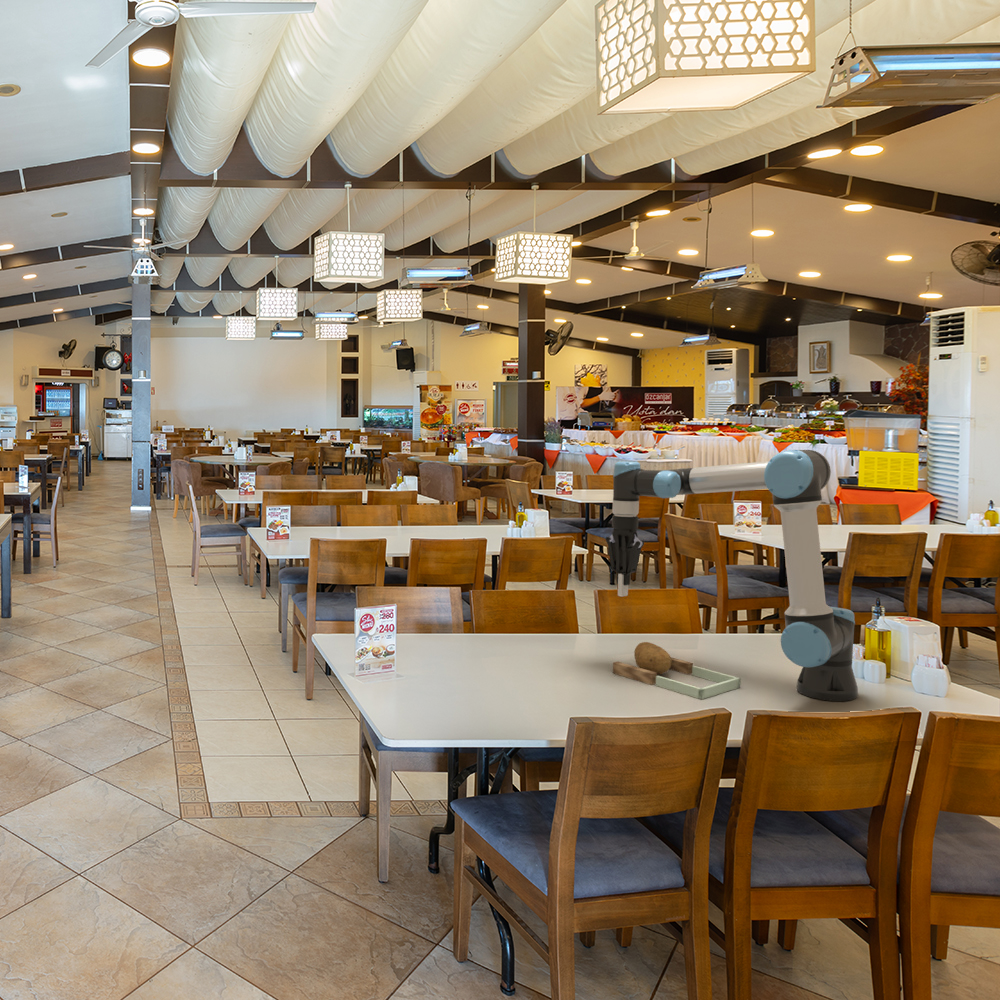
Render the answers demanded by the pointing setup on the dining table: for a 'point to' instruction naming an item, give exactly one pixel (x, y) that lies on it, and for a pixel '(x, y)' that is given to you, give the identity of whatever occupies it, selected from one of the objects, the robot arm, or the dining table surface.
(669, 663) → the potato
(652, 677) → the channel
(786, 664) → the dining table surface
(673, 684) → the frame
